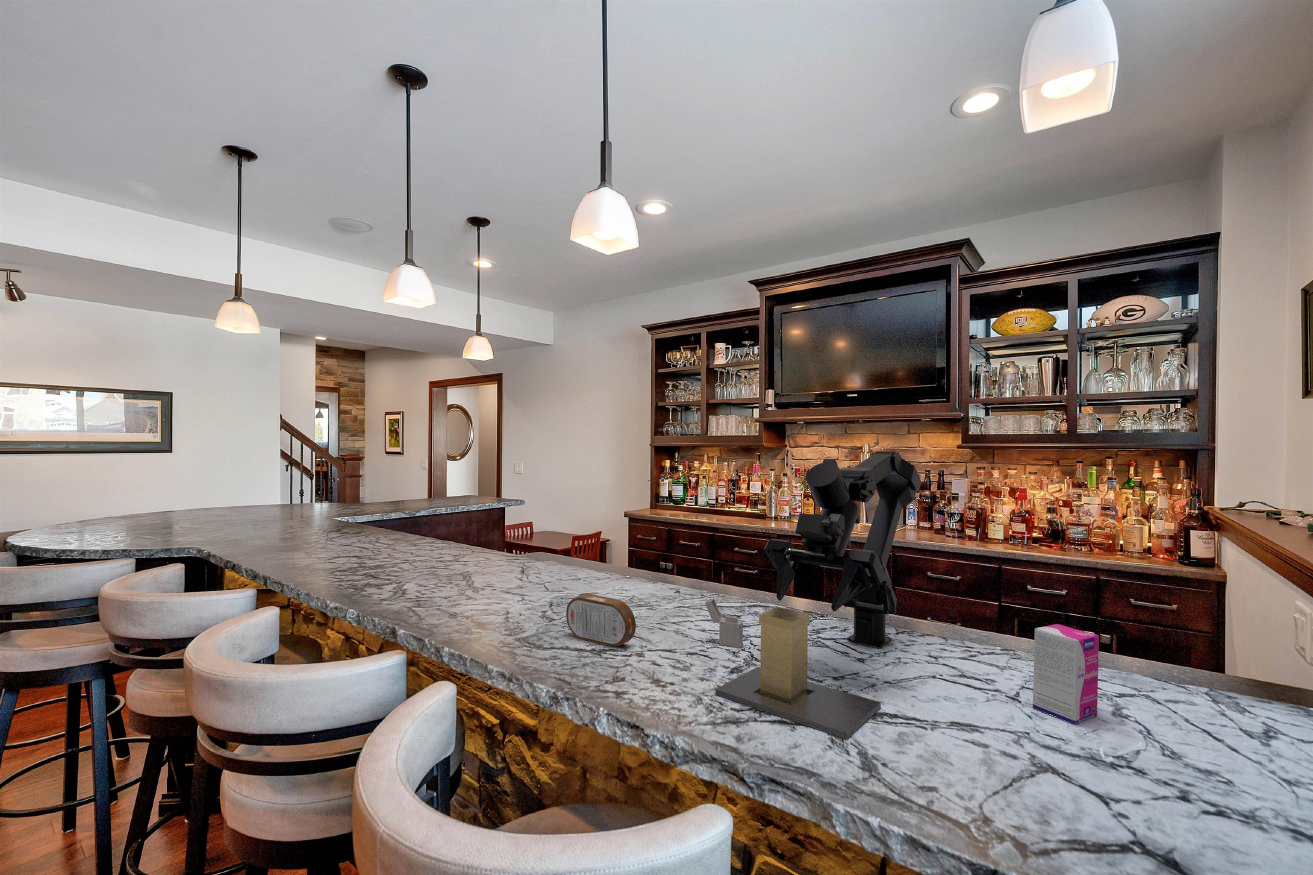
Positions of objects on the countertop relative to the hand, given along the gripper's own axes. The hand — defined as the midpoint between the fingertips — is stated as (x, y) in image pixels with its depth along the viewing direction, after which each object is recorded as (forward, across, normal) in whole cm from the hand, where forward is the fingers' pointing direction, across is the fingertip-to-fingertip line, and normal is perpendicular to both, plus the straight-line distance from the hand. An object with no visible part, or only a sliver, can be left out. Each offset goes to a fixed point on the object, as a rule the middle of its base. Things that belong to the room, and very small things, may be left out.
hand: (804, 604), depth 91 cm
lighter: (+4, -20, +14) cm, 25 cm away
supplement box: (-2, +32, +20) cm, 38 cm away
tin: (+14, -38, +4) cm, 41 cm away
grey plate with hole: (+13, +2, +4) cm, 14 cm away
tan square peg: (+13, 0, +4) cm, 14 cm away
